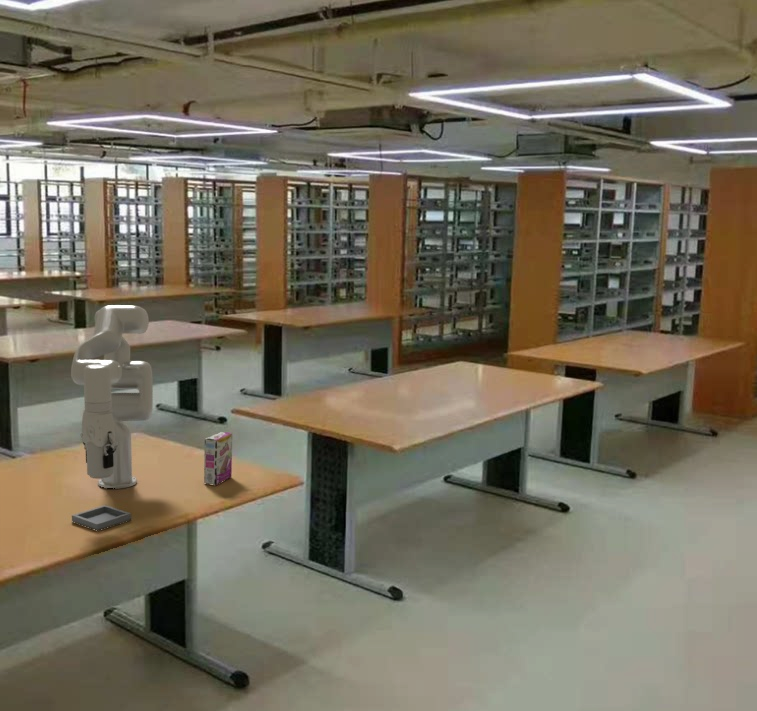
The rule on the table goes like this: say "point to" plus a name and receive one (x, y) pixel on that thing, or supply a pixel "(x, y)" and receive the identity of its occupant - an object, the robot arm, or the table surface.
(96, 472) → the can
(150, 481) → the table surface
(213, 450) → the candy bar box
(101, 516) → the tray
